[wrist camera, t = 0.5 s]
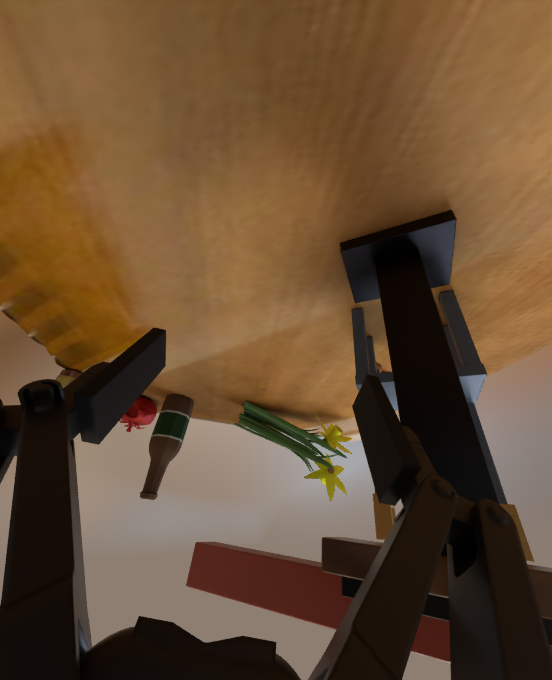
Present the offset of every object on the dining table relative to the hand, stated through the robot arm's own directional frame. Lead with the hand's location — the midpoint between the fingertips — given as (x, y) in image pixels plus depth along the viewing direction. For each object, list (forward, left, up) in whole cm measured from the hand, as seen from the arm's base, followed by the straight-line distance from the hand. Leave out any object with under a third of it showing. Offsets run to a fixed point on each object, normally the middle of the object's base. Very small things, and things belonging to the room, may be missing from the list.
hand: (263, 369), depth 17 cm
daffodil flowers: (+58, 0, -17) cm, 61 cm away
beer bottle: (+52, -32, -17) cm, 63 cm away
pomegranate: (+55, -45, -17) cm, 73 cm away
